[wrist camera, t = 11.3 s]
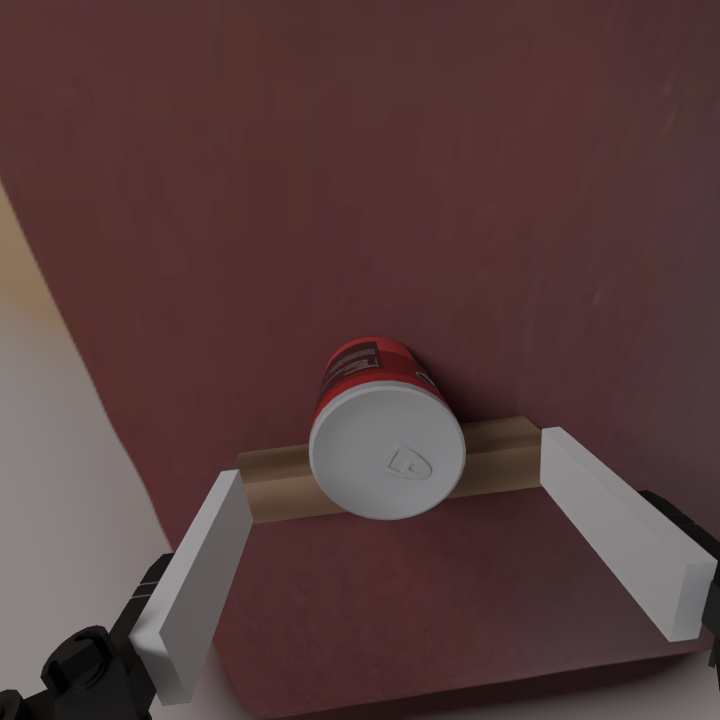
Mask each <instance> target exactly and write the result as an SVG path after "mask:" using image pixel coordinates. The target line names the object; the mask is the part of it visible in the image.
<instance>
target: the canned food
mask: <svg viewBox="0 0 720 720" xmlns="http://www.w3.org/2000/svg"><path fill="white" fill-rule="evenodd" d="M465 457H466V447H465V441H464V436H463V434H462V431H461V428H460V426H459V424H458V421H457V419H456V417H455V415H454V414H453V412H452V411H451V409H450V407H449V406H448V404H447V403H446V401H445V400H444V398H443V397H442V395H441V394H440V392H439V391H438V389H437V388H436V386H435V385H434V383H433V382H432V380H431V379H430V377H429V376H428V374H427V373H426V371H425V370H424V369H423V367H422V366H421V364H420V363H419V361H418V360H417V358H416V357H415V356H414V354H413V353H412V352H411V351H410V350H408V349H407V348H406V347H405V346H403V345H401V344H400V343H398V342H396V341H393V340H391V339H388V338H382V337H364V338H359V339H356V340H353V341H351V342H348V343H347V344H345V345H344V346H342V347H341V348H339V349H338V350H337V351H336V352H335V353H334V354H333V355H332V357H331V359H330V360H329V362H328V363H327V366H326V369H325V371H324V375H323V379H322V384H321V388H320V392H319V397H318V401H317V405H316V410H315V414H314V418H313V422H312V429H311V434H310V442H309V458H310V466H311V469H312V472H313V475H314V478H315V480H316V481H317V483H318V485H319V486H320V488H321V490H322V491H323V492H324V493H325V494H326V495H327V496H328V497H329V498H330V499H331V500H332V501H333V502H335V503H336V504H337V505H339V506H340V507H341V508H343V509H345V510H347V511H349V512H351V513H353V514H356V515H359V516H363V517H366V518H371V519H378V520H398V519H403V518H408V517H412V516H415V515H418V514H421V513H423V512H426V511H427V510H429V509H431V508H433V507H434V506H436V505H437V504H439V503H440V502H441V501H442V500H443V499H445V498H446V497H447V496H448V495H449V494H450V492H451V491H452V490H453V489H454V487H455V486H456V484H457V483H458V481H459V479H460V477H461V475H462V472H463V468H464V465H465Z"/></svg>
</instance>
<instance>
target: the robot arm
mask: <svg viewBox="0 0 720 720" xmlns="http://www.w3.org/2000/svg"><path fill="white" fill-rule="evenodd" d="M540 483H541V485H542V486H543V487H544V488H545V489H546V491H547V492H548V493H549V494H550V496H551V497H552V498H553V499H554V501H555V502H556V503H557V504H558V505H559V507H560V508H561V509H562V510H563V512H564V513H565V514H566V515H567V517H568V518H569V519H570V520H571V521H572V523H573V524H574V525H575V526H576V528H577V529H578V530H579V531H580V533H581V534H582V535H583V536H584V537H585V539H586V540H587V541H588V542H589V544H590V545H591V546H592V547H593V549H594V550H595V551H596V552H597V553H598V555H599V556H600V557H601V558H602V560H603V561H604V562H605V563H606V565H607V566H608V567H609V568H610V569H611V571H612V572H613V573H614V574H615V576H616V577H617V578H618V579H619V580H620V582H621V583H622V584H623V585H624V587H625V588H626V589H627V590H628V592H629V593H630V594H631V595H632V596H633V598H634V599H635V600H636V601H637V603H638V604H639V605H640V606H641V608H642V609H643V610H644V611H645V612H646V614H647V615H648V616H649V617H650V619H651V620H652V621H653V622H654V624H655V625H656V626H657V627H658V628H659V630H660V631H661V632H662V633H663V635H664V636H665V637H666V638H667V640H668V641H669V642H674V641H682V640H690V639H698V636H699V633H700V629H701V625H702V623H703V624H704V625H705V626H706V627H707V628H708V629H709V630H710V631H711V632H712V633H713V634H714V635H715V636H716V638H715V641H714V645H713V648H712V652H711V656H710V660H709V664H708V666H710V667H713V668H714V667H715V664H716V667H717V675H718V681H719V690H720V542H719V541H717V540H716V539H715V538H714V537H712V536H711V535H710V534H709V533H707V532H706V531H705V530H704V529H702V528H701V527H700V526H699V525H695V523H694V521H692V520H691V519H690V518H689V517H687V516H686V515H683V514H682V512H681V511H680V510H678V509H677V508H676V507H675V506H673V505H672V504H671V503H670V502H668V501H667V500H666V499H664V498H662V497H660V496H658V495H656V494H654V493H652V492H650V491H648V490H644V491H635V490H634V489H633V488H631V487H630V486H629V485H628V484H627V483H625V482H624V481H623V480H622V479H621V478H620V477H618V476H617V475H616V474H615V473H614V472H613V471H611V470H610V469H609V468H608V467H607V466H605V465H604V464H603V463H602V462H601V461H600V460H598V459H597V458H596V457H595V456H594V455H593V454H591V453H590V452H589V451H588V450H587V449H585V448H584V447H583V446H582V445H581V444H580V443H578V442H577V441H576V440H575V439H574V438H573V437H571V436H570V435H569V434H568V433H567V432H565V431H564V430H563V429H562V428H561V427H554V428H546V429H542V442H541V467H540ZM252 523H253V517H252V513H251V510H250V506H249V503H248V499H247V496H246V492H245V489H244V485H243V482H242V478H241V475H240V471H239V469H237V470H230V471H222V472H221V473H220V475H219V477H218V478H217V480H216V482H215V484H214V486H213V487H212V489H211V491H210V493H209V494H208V496H207V498H206V500H205V502H204V503H203V505H202V507H201V509H200V510H199V512H198V514H197V516H196V517H195V519H194V521H193V523H192V525H191V526H190V528H189V530H188V532H187V533H186V535H185V537H184V539H183V541H182V542H181V544H180V546H179V548H178V549H177V551H176V553H168V554H163V555H162V556H161V557H160V558H159V559H158V560H157V561H156V562H155V563H154V564H153V565H152V566H151V567H150V568H149V569H148V571H147V573H146V574H145V576H144V578H143V579H142V581H141V582H140V586H138V587H137V589H136V590H135V592H134V594H133V595H132V599H130V600H129V602H128V603H127V605H126V607H125V608H124V610H123V611H122V613H121V615H120V617H119V618H118V620H117V621H116V623H115V624H114V626H113V628H112V629H111V631H110V632H109V634H108V632H107V630H106V629H105V627H102V626H98V625H96V626H91V627H87V628H85V629H83V630H81V631H79V632H77V633H75V634H74V635H72V636H71V637H70V638H68V639H67V640H65V641H64V642H63V643H62V644H61V645H60V646H59V647H58V648H57V649H56V650H55V651H54V652H53V653H52V654H51V656H50V657H49V658H48V660H47V662H46V663H45V665H44V666H43V670H42V673H41V677H40V678H41V679H42V681H43V682H44V684H45V685H46V687H47V688H48V689H47V690H44V691H42V692H40V693H38V694H35V695H33V696H31V697H28V698H26V699H23V698H22V696H21V695H20V694H19V692H18V691H17V690H5V691H2V692H0V720H152V717H151V715H150V713H149V711H148V710H149V707H150V705H151V703H152V701H153V698H154V696H155V694H156V693H157V695H158V697H159V700H160V701H161V704H162V705H163V706H166V705H174V704H182V703H189V702H190V701H191V699H192V696H193V693H194V690H195V687H196V684H197V681H198V678H199V675H200V673H201V670H202V667H203V664H204V661H205V658H206V655H207V652H208V650H209V647H210V644H211V641H212V638H213V635H214V632H215V629H216V627H217V624H218V621H219V618H220V615H221V612H222V609H223V606H224V603H225V601H226V598H227V595H228V592H229V589H230V586H231V583H232V580H233V578H234V575H235V572H236V569H237V566H238V563H239V560H240V557H241V554H242V552H243V549H244V546H245V543H246V540H247V537H248V534H249V531H250V529H251V526H252Z"/></svg>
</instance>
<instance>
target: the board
mask: <svg viewBox="0 0 720 720" xmlns="http://www.w3.org/2000/svg"><path fill="white" fill-rule="evenodd" d="M459 426H460V428H461V431H462V434H463V436H464V441H465V447H466V457H465V465H464V468H463V472H462V475H461V477H460V479H459V481H458V483H457V484H456V486H455V487H454V489H453V490H452V491H451V492H450V494H449V495H448V496H447V497H446V498H445V499H449V498H456V497H464V496H472V495H479V494H487V493H495V492H502V491H510V490H517V489H525V488H533V487H540V486H542V485H541V483H540V467H541V442H542V432H541V431H540V430H539V429H538V428H537V427H536V426H535V425H534V424H533V423H532V422H530V421H529V420H528V419H527V418H526V417H525V416H524V415H521V416H514V417H506V418H499V419H491V420H484V421H476V422H469V423H461V424H459ZM237 469H239V471H240V475H241V478H242V482H243V485H244V489H245V492H246V496H247V499H248V503H249V506H250V510H251V513H252V517H253V523H252V524H257V523H265V522H273V521H280V520H288V519H296V518H303V517H311V516H318V515H326V514H334V513H341V512H349V511H347V510H345V509H343V508H341V507H340V506H339V505H337V504H336V503H335V502H333V501H332V500H331V499H330V498H329V497H328V496H327V495H326V494H325V493H324V492H323V491H322V490H321V488H320V486H319V485H318V483H317V481H316V480H315V478H314V475H313V472H312V469H311V466H310V458H309V444H303V445H295V446H288V447H280V448H273V449H265V450H258V451H250V452H243V453H239V454H238V456H237V458H236V460H235V461H234V463H233V465H232V467H231V469H230V470H237ZM230 470H229V471H230Z"/></svg>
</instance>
